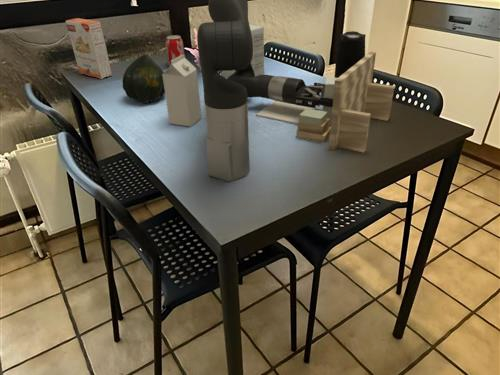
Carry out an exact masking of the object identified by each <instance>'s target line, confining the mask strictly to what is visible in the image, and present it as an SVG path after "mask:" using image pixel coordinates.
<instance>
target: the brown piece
mask: <svg viewBox="0 0 500 375" xmlns="http://www.w3.org/2000/svg"><path fill="white" fill-rule="evenodd" d="M376 56H377V52H376V51H370V52H369V53H367V54H365V57H364V58H362V59H361V60H360V61H359V62H357V63H356V64H355V65H354V66H352V67H351V68H350V69H349V70H347V71H346V72H345V73H344V74H342V75H341V76H340V77H339V78H337V79H336V80H335V84H334V96H333V107H332V118H331V124H330V127H331V129H330V137H329V142H328V150H331V151H335V150H336V149H337V148H341V149H345V150H348V151H349V150H351V151H355V152H359V153H362V154H364V153H365V152H366V150H367V143H368V136H369V131H370V130H369V129H370V124H371V119H374V120H380V121H385V122H389V119H390V114H391V108H392V103H393V97H394V93H395V92H394V91H395V86H396V85H391V84H384V83H377V82H373V76H374V69H375V62H376Z"/></svg>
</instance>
